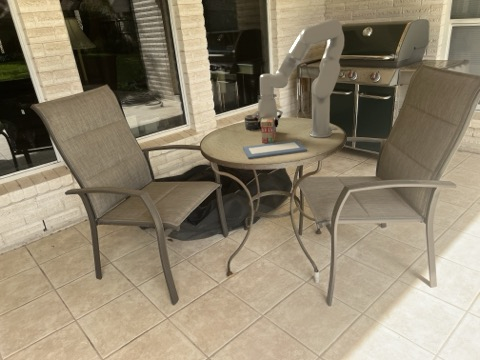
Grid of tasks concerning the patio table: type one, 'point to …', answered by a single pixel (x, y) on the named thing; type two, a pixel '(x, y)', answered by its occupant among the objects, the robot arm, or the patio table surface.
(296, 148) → the board
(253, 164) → the patio table surface
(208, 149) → the patio table surface
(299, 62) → the robot arm
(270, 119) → the stack of blocks
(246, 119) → the jar
